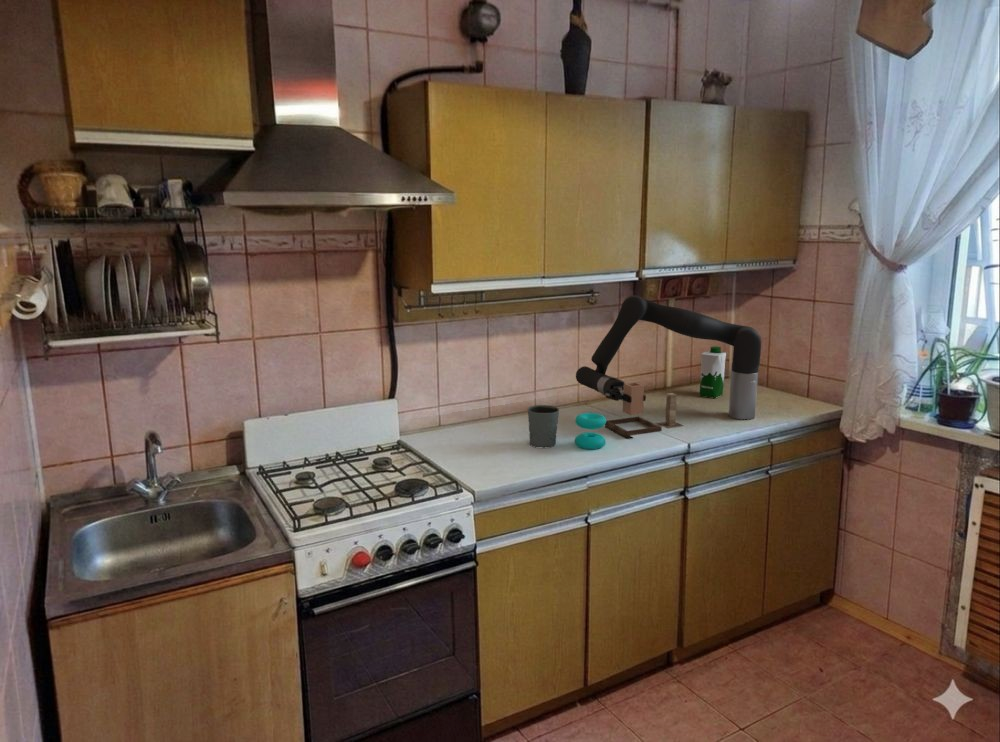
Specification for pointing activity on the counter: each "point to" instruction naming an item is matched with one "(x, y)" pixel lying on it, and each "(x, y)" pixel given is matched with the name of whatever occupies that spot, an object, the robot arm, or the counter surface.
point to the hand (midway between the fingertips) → (637, 398)
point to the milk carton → (712, 372)
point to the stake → (670, 412)
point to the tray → (627, 434)
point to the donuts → (589, 438)
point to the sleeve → (634, 398)
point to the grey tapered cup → (543, 425)
